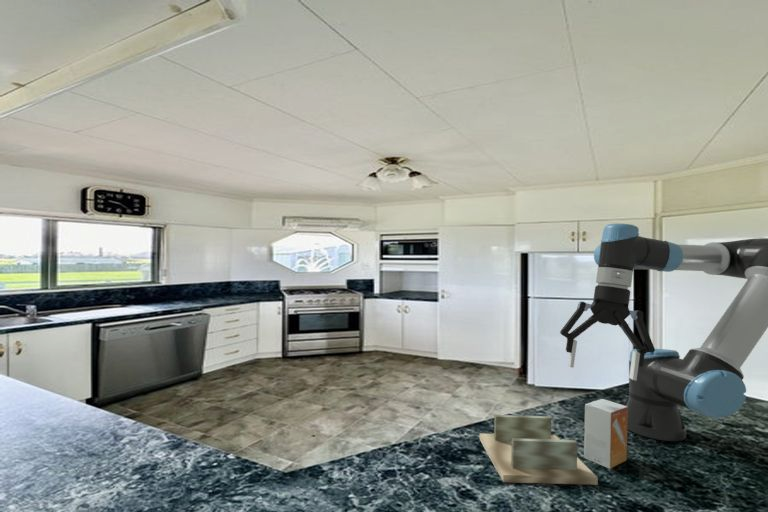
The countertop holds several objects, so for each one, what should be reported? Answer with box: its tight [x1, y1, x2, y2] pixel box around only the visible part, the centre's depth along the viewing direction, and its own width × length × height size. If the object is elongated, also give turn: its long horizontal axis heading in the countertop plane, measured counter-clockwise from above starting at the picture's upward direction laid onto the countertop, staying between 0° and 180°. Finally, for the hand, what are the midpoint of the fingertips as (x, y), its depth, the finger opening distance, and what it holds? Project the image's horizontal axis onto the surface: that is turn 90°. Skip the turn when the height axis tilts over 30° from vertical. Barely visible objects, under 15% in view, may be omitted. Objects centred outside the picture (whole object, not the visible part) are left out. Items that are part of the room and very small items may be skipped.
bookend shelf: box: [479, 414, 599, 486], centre depth 91 cm, size 20×20×8 cm
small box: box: [583, 398, 628, 470], centre depth 92 cm, size 8×6×13 cm
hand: (601, 372), depth 94 cm, fingers open, 13 cm apart
